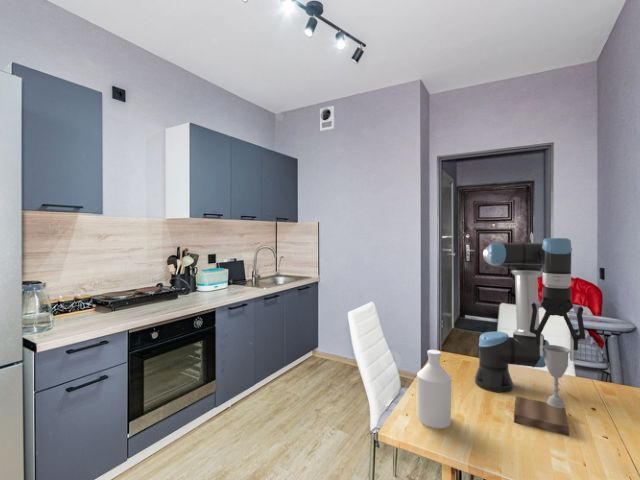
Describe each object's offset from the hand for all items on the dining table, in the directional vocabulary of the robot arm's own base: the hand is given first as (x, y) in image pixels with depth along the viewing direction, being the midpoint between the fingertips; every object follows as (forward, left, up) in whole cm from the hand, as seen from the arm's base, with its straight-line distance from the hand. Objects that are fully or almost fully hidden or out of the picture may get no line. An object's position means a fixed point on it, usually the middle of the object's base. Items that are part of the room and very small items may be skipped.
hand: (556, 357), depth 108 cm
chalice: (0, 0, -15) cm, 15 cm away
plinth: (-4, +16, -28) cm, 32 cm away
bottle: (-37, -5, -28) cm, 47 cm away
